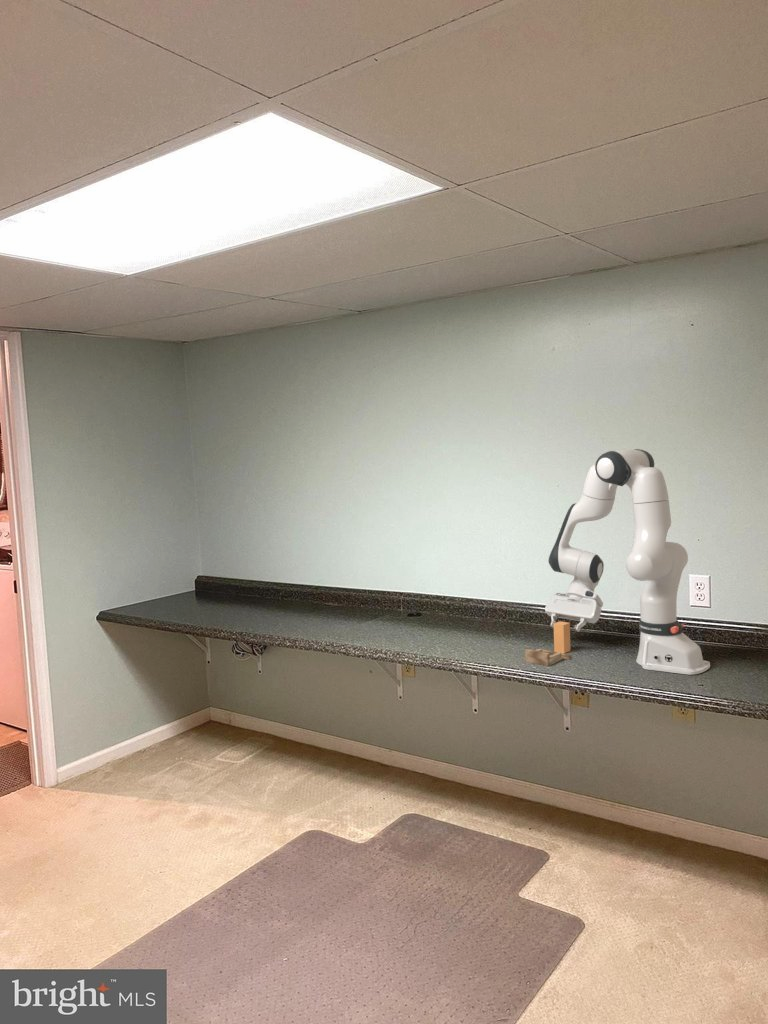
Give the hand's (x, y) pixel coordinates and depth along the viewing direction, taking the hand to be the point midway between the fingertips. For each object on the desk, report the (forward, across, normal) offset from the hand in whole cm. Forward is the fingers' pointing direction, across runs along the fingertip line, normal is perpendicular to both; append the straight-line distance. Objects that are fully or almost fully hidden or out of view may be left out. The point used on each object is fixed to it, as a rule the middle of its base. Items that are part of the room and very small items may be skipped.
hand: (564, 628), depth 272 cm
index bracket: (+16, +2, -5) cm, 17 cm away
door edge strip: (+11, +1, -1) cm, 12 cm away
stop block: (+7, 0, +4) cm, 8 cm away
